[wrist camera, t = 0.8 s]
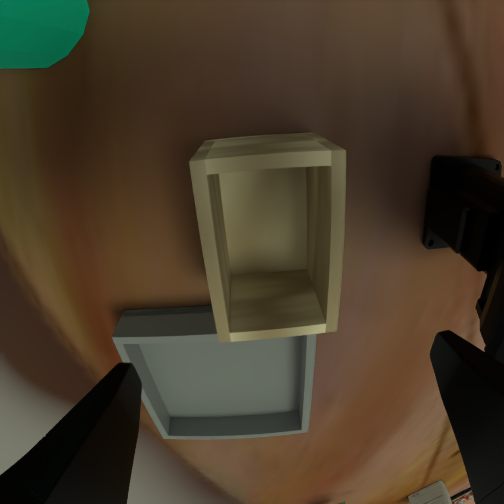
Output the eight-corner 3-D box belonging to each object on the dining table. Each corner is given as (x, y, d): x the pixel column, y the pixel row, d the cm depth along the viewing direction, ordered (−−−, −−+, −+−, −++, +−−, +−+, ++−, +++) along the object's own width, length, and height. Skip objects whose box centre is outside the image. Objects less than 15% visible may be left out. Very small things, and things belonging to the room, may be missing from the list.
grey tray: (308, 296, 22) (316, 324, 19) (303, 406, 28) (307, 432, 25) (123, 309, 22) (111, 337, 19) (167, 413, 28) (163, 438, 25)
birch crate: (312, 132, 17) (346, 150, 12) (314, 271, 21) (336, 331, 16) (205, 140, 17) (188, 161, 12) (223, 279, 21) (219, 342, 16)
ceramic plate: (490, 473, 62) (493, 480, 59) (482, 487, 73) (484, 493, 70) (422, 509, 67) (424, 516, 64) (424, 516, 77) (426, 522, 75)
